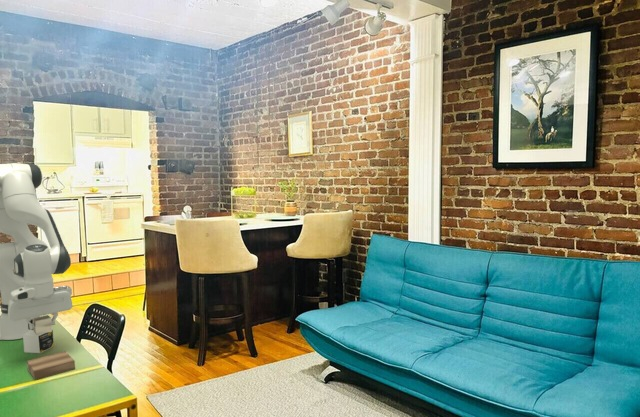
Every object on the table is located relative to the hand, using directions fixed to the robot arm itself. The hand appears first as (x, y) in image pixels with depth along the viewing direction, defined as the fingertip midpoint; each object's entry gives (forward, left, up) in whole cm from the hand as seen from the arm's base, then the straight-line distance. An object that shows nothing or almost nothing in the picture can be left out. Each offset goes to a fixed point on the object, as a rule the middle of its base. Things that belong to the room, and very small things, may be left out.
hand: (42, 326), depth 175 cm
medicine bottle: (-9, 0, -11) cm, 15 cm away
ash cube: (0, 0, -2) cm, 2 cm away
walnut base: (+15, -1, -11) cm, 18 cm away
